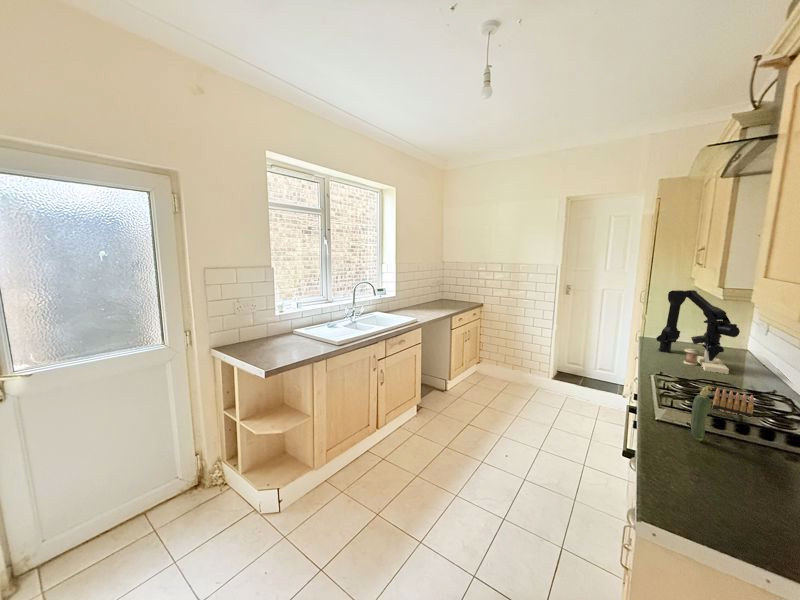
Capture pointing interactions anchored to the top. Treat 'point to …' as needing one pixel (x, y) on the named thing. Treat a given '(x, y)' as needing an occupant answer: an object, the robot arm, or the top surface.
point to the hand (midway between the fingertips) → (709, 359)
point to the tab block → (706, 358)
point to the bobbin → (691, 357)
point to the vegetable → (700, 413)
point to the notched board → (713, 366)
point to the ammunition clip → (733, 403)
